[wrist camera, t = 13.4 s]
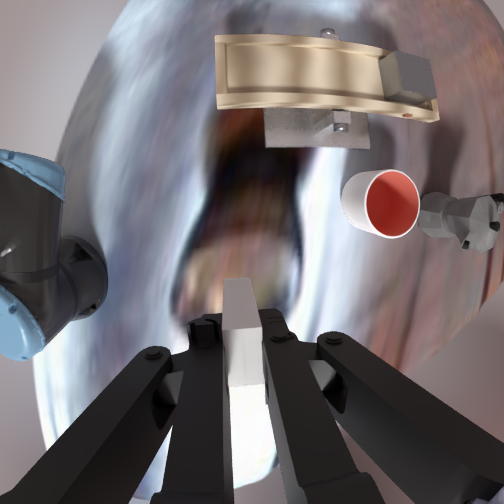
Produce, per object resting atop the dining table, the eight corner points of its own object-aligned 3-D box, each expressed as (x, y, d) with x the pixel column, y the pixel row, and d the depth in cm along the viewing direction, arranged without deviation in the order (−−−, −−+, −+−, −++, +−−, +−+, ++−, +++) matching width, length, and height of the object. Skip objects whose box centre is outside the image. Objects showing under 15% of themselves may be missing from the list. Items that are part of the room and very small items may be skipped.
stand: (265, 148, 45) (276, 135, 34) (258, 50, 41) (266, 18, 30) (367, 149, 46) (400, 141, 35) (356, 58, 42) (382, 34, 31)
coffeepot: (420, 252, 51) (483, 277, 33) (401, 212, 49) (468, 225, 31) (464, 210, 50) (526, 220, 32) (448, 171, 48) (513, 171, 30)
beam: (217, 113, 34) (216, 105, 31) (215, 45, 32) (214, 33, 29) (426, 125, 36) (439, 121, 33) (416, 66, 34) (428, 59, 31)
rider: (384, 99, 33) (402, 89, 28) (377, 62, 32) (394, 49, 27) (417, 105, 34) (436, 98, 29) (410, 70, 32) (429, 59, 27)
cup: (339, 169, 46) (365, 165, 36) (389, 175, 47) (421, 173, 37) (337, 228, 48) (362, 237, 38) (386, 230, 49) (417, 239, 39)
